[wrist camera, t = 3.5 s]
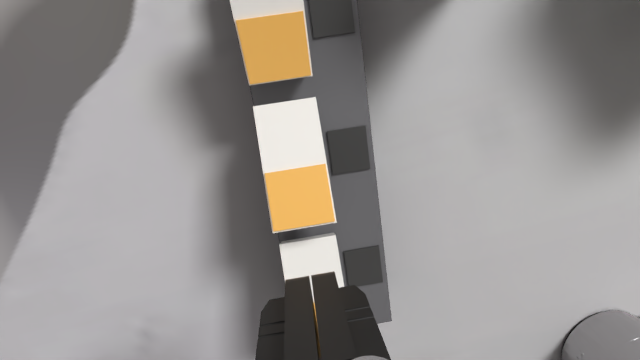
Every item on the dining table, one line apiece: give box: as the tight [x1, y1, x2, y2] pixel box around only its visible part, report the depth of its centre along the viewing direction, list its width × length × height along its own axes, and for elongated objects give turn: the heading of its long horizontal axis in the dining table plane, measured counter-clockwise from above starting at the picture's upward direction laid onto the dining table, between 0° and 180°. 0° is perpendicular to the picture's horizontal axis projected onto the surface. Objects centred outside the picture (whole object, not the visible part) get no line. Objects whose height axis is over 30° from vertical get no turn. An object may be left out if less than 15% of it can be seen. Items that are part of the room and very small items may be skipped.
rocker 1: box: [230, 0, 313, 86], centre depth 20 cm, size 4×8×2 cm, turn 8°
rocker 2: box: [253, 97, 337, 233], centre depth 22 cm, size 4×8×2 cm, turn 8°
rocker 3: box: [279, 233, 344, 321], centre depth 24 cm, size 4×8×2 cm, turn 8°
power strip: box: [250, 0, 392, 324], centre depth 26 cm, size 8×30×5 cm, turn 8°
